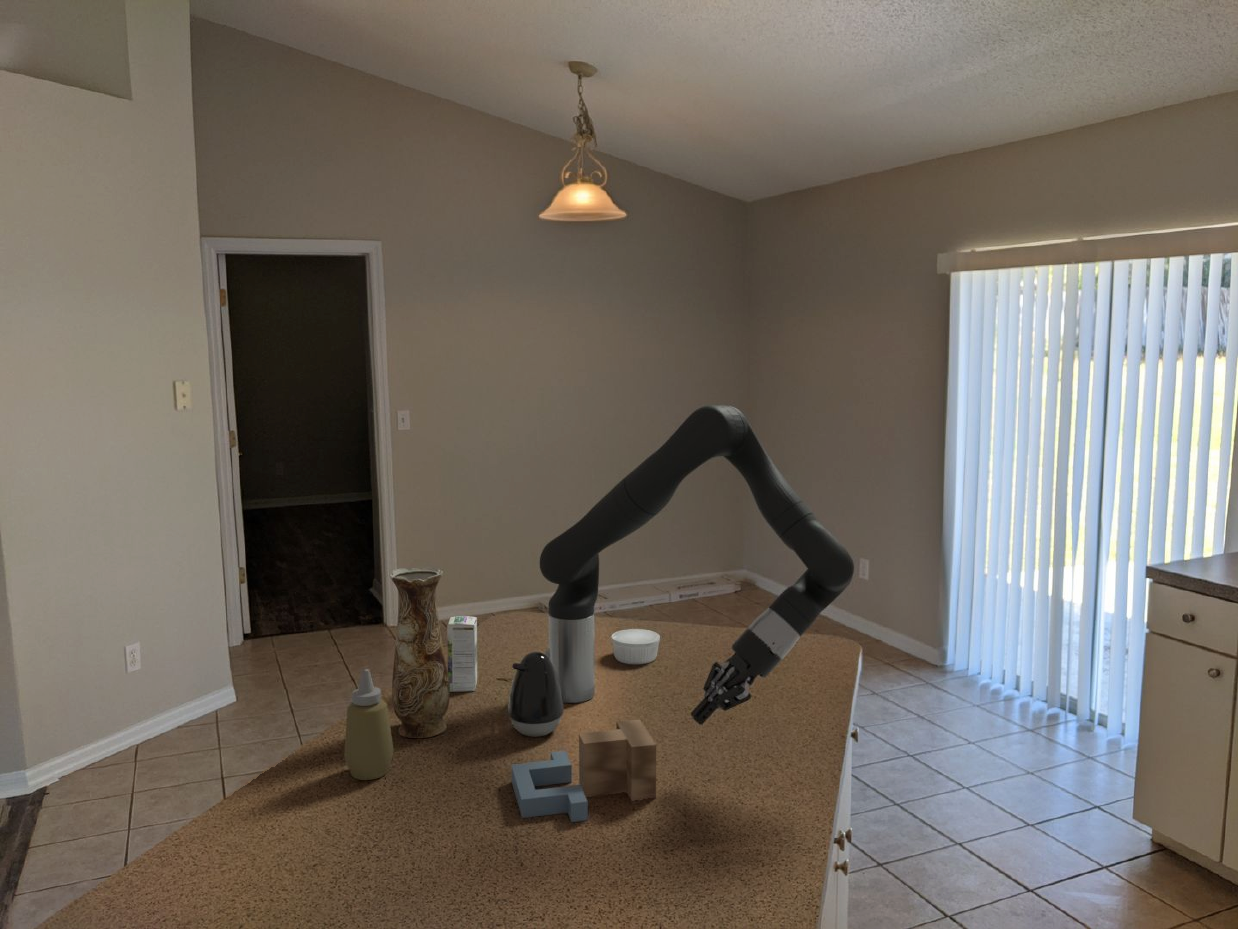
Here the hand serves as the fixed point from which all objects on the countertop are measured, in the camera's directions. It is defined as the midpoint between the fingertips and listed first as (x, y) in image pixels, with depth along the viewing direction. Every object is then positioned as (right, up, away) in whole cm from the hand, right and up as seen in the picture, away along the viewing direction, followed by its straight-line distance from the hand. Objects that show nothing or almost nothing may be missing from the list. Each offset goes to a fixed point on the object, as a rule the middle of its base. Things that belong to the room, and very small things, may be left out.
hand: (695, 720), depth 153 cm
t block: (-13, -10, -2) cm, 17 cm away
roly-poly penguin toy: (-28, -8, +20) cm, 35 cm away
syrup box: (-45, -5, +42) cm, 62 cm away
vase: (-50, -8, +21) cm, 54 cm away
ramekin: (-9, -2, +59) cm, 60 cm away
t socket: (-24, -11, -5) cm, 27 cm away
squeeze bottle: (-54, -10, +3) cm, 56 cm away
